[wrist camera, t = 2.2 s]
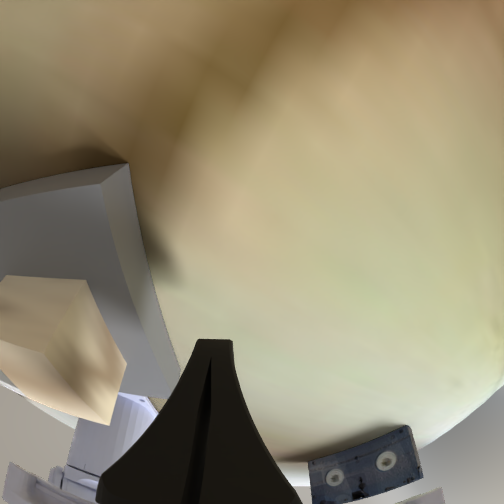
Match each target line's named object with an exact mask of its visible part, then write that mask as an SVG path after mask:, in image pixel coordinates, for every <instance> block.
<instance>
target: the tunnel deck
mask: <svg viewBox="0 0 504 504" xmlns="http://www.w3.org/2000/svg"><path fill="white" fill-rule="evenodd" d="M6 275H13V276H27V277H42V278H59V279H79V280H86V281H87V284H88V286H89V289H90V291H91V293H92V296H93V298H94V300H95V302H96V305H97V307H98V309H99V311H100V313H101V315H102V318H103V320H104V322H105V324H106V326H107V328H108V330H109V332H110V334H111V336H112V338H113V339H114V341H115V343H116V345H117V347H118V349H119V351H120V352H121V354H122V356H123V358H124V360H125V361H126V363H127V366H126V369H125V372H124V375H123V379H122V382H121V385H120V389H119V392H121V393H127V394H133V395H139V396H146V397H154V398H162V399H168V398H169V397H170V395H171V393H172V392H173V390H174V388H175V387H176V385H177V383H178V381H179V377H180V371H181V369H180V366H179V364H178V361H177V358H176V355H175V352H174V350H173V347H172V344H171V341H170V338H169V335H168V332H167V329H166V325H165V322H164V319H163V316H162V313H161V309H160V306H159V302H158V299H157V295H156V292H155V288H154V285H153V281H152V277H151V273H150V269H149V265H148V261H147V257H146V253H145V249H144V244H143V240H142V235H141V231H140V226H139V221H138V216H137V211H136V206H135V200H134V195H133V189H132V183H131V176H130V169H129V163H125V164H118V165H110V166H104V167H97V168H91V169H85V170H79V171H74V172H68V173H63V174H58V175H54V176H49V177H44V178H40V179H36V180H31V181H27V182H23V183H20V184H16V185H12V186H8V187H5V188H1V189H0V282H1V281H2V280H3V278H4V277H5V276H6ZM0 385H2V386H4V387H6V388H8V389H10V390H12V391H14V392H16V393H18V394H20V395H23V396H25V395H24V394H23V393H22V392H21V391H20V390H19V389H18V388H17V387H16V386H15V385H14V384H13V382H12V381H11V380H10V379H9V378H8V377H7V376H6V375H5V374H4V373H3V372H2V370H1V369H0ZM25 397H26V396H25Z"/></svg>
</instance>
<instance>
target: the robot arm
mask: <svg viewBox="0 0 504 504" xmlns="http://www.w3.org/2000/svg"><path fill="white" fill-rule="evenodd" d="M67 465H68V466H67ZM67 465H65V466H64V471H63V472H62V470H63V468H61V467H60V466H56V468H55V467H54V468H51V470H50V474H49V479H48V481H47V480H45V479H43V478H41V477H39V476H37V475H35V474H33V473H30V472H28V471H26V470H25V469H23V468H21V467H20V466H18V465H16V464H14V463H12V462H10V463H9V466H8V471H7V475H6V480H5V485H4V491H3V496H2V498H3V500H5V501H6V502H7V503H9V504H303V503H302V502H301V500H300V498H299V496H298V494H297V493H296V491H295V489H294V488H293V487H292V486H291V484H290V483H289V482H288V480H287V479H286V477H285V476H284V475H283V473H282V472H281V470H280V469H279V467H278V466H277V464H276V463H275V461H274V459H273V458H272V456H271V454H270V453H269V451H268V449H267V447H266V446H265V444H264V442H263V440H262V438H261V436H260V434H259V432H258V430H257V428H256V426H255V424H254V422H253V420H252V417H251V415H250V413H249V410H248V408H247V405H246V403H245V400H244V397H243V394H242V391H241V388H240V385H239V381H238V378H237V374H236V370H235V364H234V353H233V341H231V340H230V339H198V340H197V342H196V344H195V347H194V350H193V352H192V355H191V357H190V359H189V361H188V363H187V365H186V368H185V370H184V372H183V373H182V375H181V377H180V379H179V381H178V383H177V385H176V387H175V388H174V390H173V392H172V393H171V395H170V397H169V398H168V400H167V402H166V403H165V405H164V406H163V408H162V409H161V411H160V412H159V413H158V412H157V411H156V409H155V408H154V406H153V405H152V403H151V402H150V400H149V399H148V397H146V396H139V395H133V394H127V393H121V392H118V396H117V399H116V403H115V406H114V410H113V414H112V418H111V422H110V426H108V425H104V424H100V423H97V422H93V421H89V420H86V419H83V418H79V419H78V422H77V426H76V429H75V432H74V436H73V440H72V443H71V447H70V451H69V455H68V459H67ZM69 466H70V467H69ZM396 504H445V500H444V495H443V491H442V487H439V488H436V489H434V490H431V491H429V492H427V493H424V494H420V495H417V496H414V497H411V498H409V499H406V500H404V501H401V502H398V503H396Z"/></svg>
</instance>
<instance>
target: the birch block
mask: <svg viewBox="0 0 504 504" xmlns="http://www.w3.org/2000/svg"><path fill="white" fill-rule="evenodd" d="M126 366H127V363H126V361H125V360H124V358H123V356H122V354H121V352H120V351H119V349H118V347H117V345H116V343H115V341H114V339H113V338H112V336H111V334H110V332H109V330H108V328H107V326H106V324H105V322H104V320H103V318H102V315H101V313H100V311H99V309H98V307H97V305H96V302H95V300H94V298H93V296H92V293H91V291H90V289H89V286H88V284H87V281H86V280H79V279H59V278H42V277H27V276H13V275H6V276H5V277H4V278H3V280H2V281H1V282H0V369H1V370H2V372H3V373H4V374H5V375H6V376H7V377H8V378H9V379H10V380H11V381H12V382H13V384H14V385H15V386H16V387H17V388H18V389H19V390H20V391H21V392H22V393H23V394H24V395H25V396H26V397H27V398H29V399H31V400H33V401H36V402H38V403H40V404H43V405H45V406H48V407H51V408H53V409H56V410H59V411H61V412H64V413H67V414H70V415H73V416H76V417H79V418H83V419H86V420H89V421H93V422H97V423H100V424H104V425H108V426H110V422H111V418H112V414H113V410H114V406H115V403H116V399H117V396H118V392H119V389H120V385H121V382H122V379H123V375H124V372H125V369H126Z"/></svg>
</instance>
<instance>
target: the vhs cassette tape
mask: <svg viewBox="0 0 504 504" xmlns="http://www.w3.org/2000/svg"><path fill="white" fill-rule="evenodd" d="M308 469H309V477H310V485H311V495H312V504H343V503H348V502H352V501H356V500H360V499H363V498H368V497H371V496H374V495H378V494H381V493H384V492H387V491H390V490H393V489H396V488H398V487H401V486H404V485H407V484H409V483H411V482H414V481H417V480H419V479H421V478H423V473H422V468H421V465H420V460H419V456H418V452H417V449H416V445H415V441H414V438H413V434H412V430H411V428H410V427H409V426H407V425H405V426H403V427H401V428H399V429H397V430H395V431H392V432H390V433H388V434H386V435H383V436H381V437H379V438H376V439H374V440H372V441H369V442H367V443H364V444H361V445H359V446H356V447H353V448H350V449H348V450H345V451H342V452H339V453H336V454H333V455H329V456H326V457H323V458H319V459H316V460H312V461H309V462H308Z"/></svg>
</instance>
